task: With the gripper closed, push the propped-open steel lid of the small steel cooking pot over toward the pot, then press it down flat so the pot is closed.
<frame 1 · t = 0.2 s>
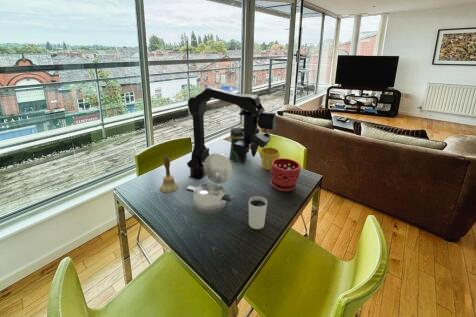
hand: (248, 160, 112), 14 cm above the table, tool pointing down, fingers open, 9 cm apart
cooker lid: (218, 167, 108), point 13 cm above the table, hinge at 100.0°
cooker pot: (209, 204, 106), on the table
plant pot 2: (283, 186, 120), on the table
plant pot: (268, 167, 138), on the table
white cup: (256, 224, 95), on the table
hand bell: (169, 187, 117), on the table
coffee jar: (238, 159, 147), on the table
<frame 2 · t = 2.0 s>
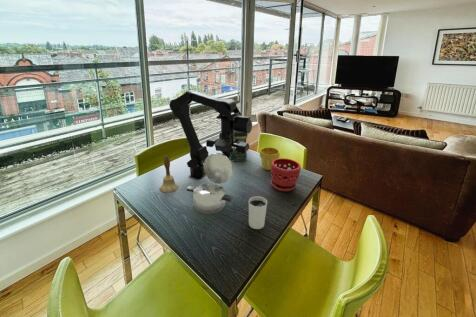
hand: (227, 162, 116), 12 cm above the table, tool pointing down, fingers closed
nothing on the table moved.
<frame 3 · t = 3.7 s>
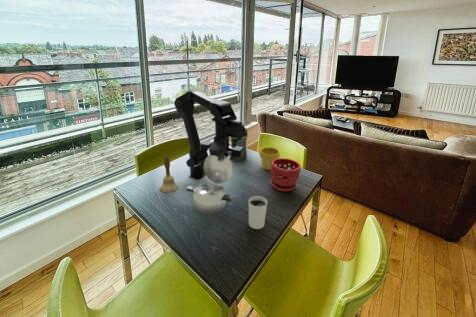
hand: (222, 166, 111), 12 cm above the table, tool pointing down, fingers closed, pressing on cooker lid
cooker lid: (218, 167, 108), point 13 cm above the table, hinge at 99.7°, touching gripper
everything else where it was.
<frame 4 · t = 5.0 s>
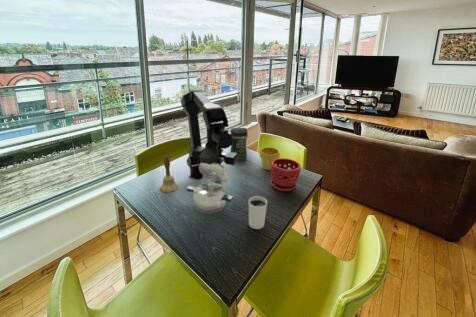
hand: (215, 173, 106), 11 cm above the table, tool pointing down, fingers closed, pressing on cooker lid
cooker lid: (214, 171, 105), point 13 cm above the table, hinge at 67.5°, touching gripper
everything else where it was.
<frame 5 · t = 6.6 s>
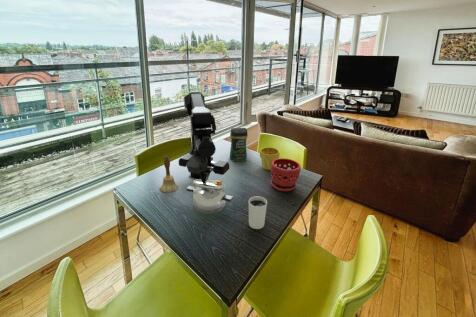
hand: (204, 183, 98), 12 cm above the table, tool pointing down, fingers closed, pressing on cooker lid
cooker lid: (209, 182, 102), point 10 cm above the table, hinge at 22.0°, touching gripper
everything else where it was.
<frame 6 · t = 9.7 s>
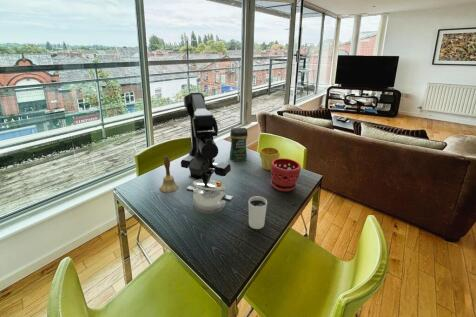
hand: (206, 184, 100), 10 cm above the table, tool pointing down, fingers closed, pressing on cooker lid
cooker lid: (209, 183, 102), point 10 cm above the table, hinge at 18.4°, touching gripper
everything else where it was.
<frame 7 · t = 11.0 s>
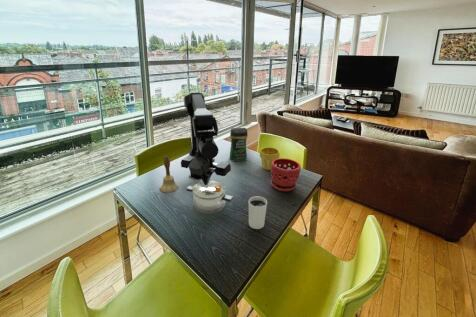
hand: (206, 184, 99), 10 cm above the table, tool pointing down, fingers closed
cooker lid: (209, 187, 102), point 8 cm above the table, hinge at 2.3°
everything else where it was.
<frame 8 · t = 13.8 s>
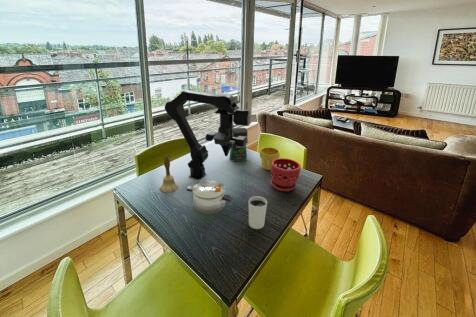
hand: (226, 155, 119), 13 cm above the table, tool pointing down, fingers closed
nothing on the table moved.
at the end: cooker lid at +2° (first picture: +100°); white cup moved 0.2 cm from its start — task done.
